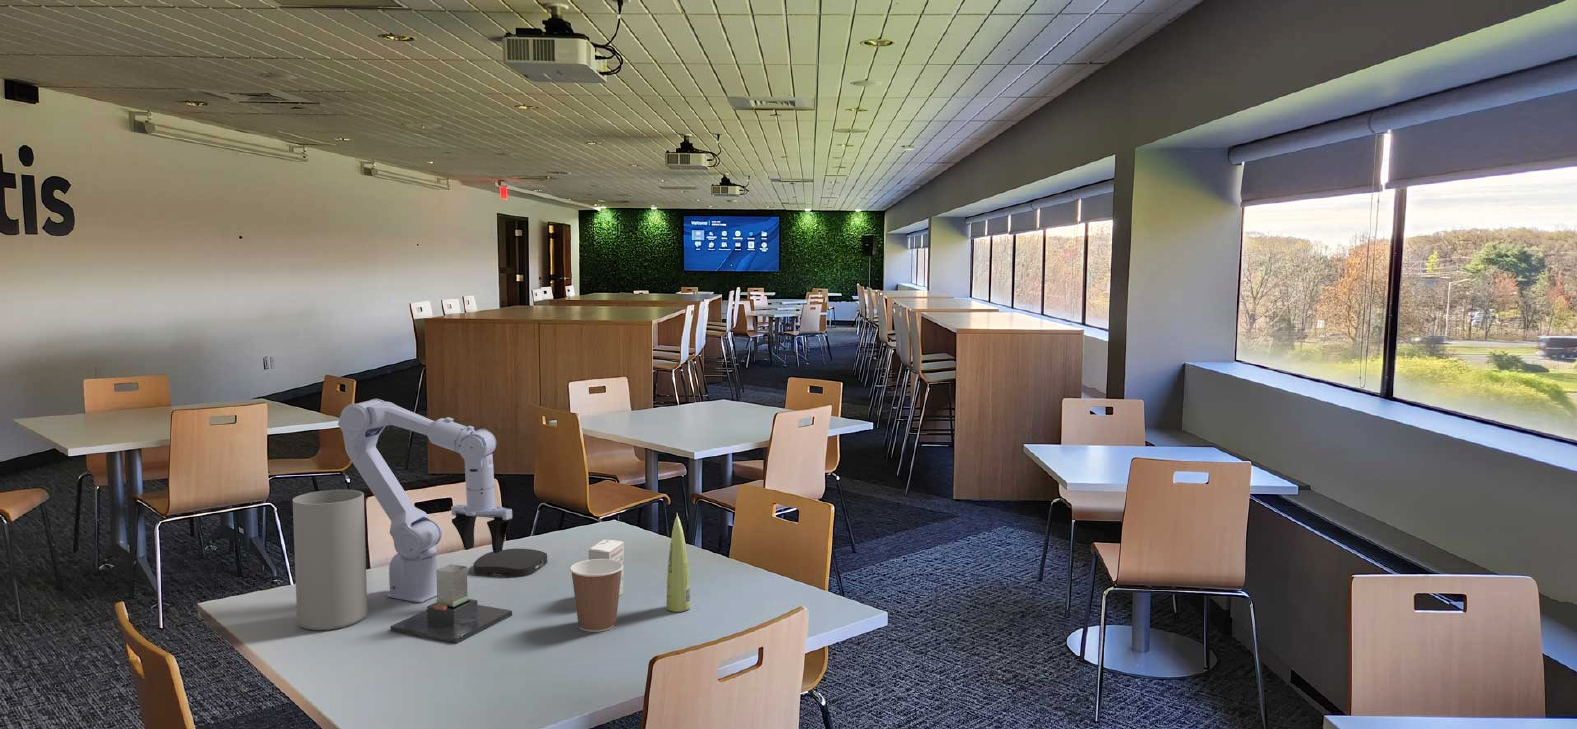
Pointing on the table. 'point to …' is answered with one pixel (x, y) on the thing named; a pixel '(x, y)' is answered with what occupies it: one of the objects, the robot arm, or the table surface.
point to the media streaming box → (510, 563)
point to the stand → (451, 621)
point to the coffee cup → (596, 593)
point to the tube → (678, 572)
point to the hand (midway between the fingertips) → (483, 550)
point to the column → (452, 585)
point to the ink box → (609, 553)
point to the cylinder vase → (330, 559)
